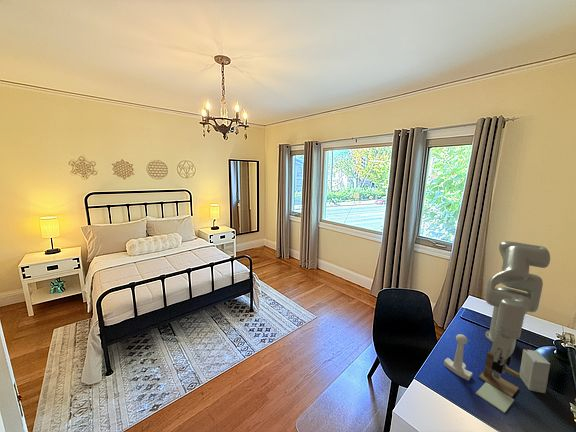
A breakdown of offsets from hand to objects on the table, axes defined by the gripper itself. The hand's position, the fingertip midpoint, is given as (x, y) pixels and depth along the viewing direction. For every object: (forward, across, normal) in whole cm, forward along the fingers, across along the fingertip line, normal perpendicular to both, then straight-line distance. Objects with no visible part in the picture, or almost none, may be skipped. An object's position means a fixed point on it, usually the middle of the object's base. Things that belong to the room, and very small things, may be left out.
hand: (500, 366), depth 101 cm
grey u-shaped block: (+4, 0, 0) cm, 4 cm away
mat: (+16, 0, 0) cm, 16 cm away
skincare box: (+16, -22, +6) cm, 28 cm away
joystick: (+16, -3, -15) cm, 22 cm away
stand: (+16, -10, -2) cm, 19 cm away
